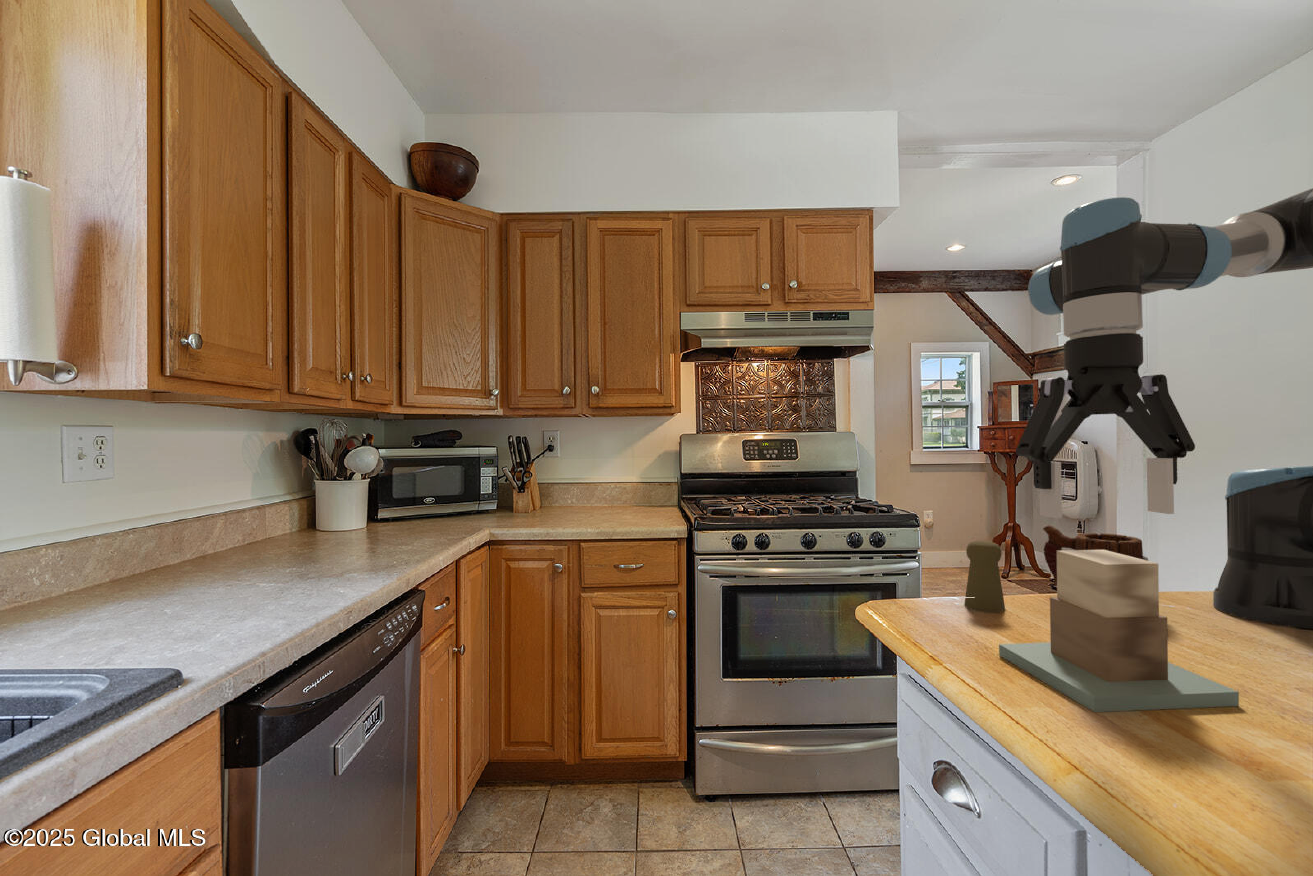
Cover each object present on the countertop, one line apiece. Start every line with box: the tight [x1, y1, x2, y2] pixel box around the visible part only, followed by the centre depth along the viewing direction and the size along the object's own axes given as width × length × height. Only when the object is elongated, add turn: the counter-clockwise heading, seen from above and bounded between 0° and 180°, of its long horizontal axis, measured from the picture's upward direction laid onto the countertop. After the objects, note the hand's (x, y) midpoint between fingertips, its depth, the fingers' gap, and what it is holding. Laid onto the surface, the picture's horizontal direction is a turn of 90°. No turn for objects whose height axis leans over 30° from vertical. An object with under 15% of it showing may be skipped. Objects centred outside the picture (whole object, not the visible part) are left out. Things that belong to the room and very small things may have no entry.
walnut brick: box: [1049, 596, 1169, 682], centre depth 71 cm, size 7×9×7 cm
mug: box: [1042, 525, 1149, 587], centre depth 99 cm, size 12×14×15 cm
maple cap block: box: [1056, 549, 1160, 618], centre depth 71 cm, size 6×8×6 cm
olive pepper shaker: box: [964, 540, 1006, 613], centre depth 100 cm, size 6×6×11 cm
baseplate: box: [998, 641, 1240, 713], centre depth 71 cm, size 16×16×2 cm
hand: (1106, 514), depth 71 cm, fingers open, 13 cm apart
